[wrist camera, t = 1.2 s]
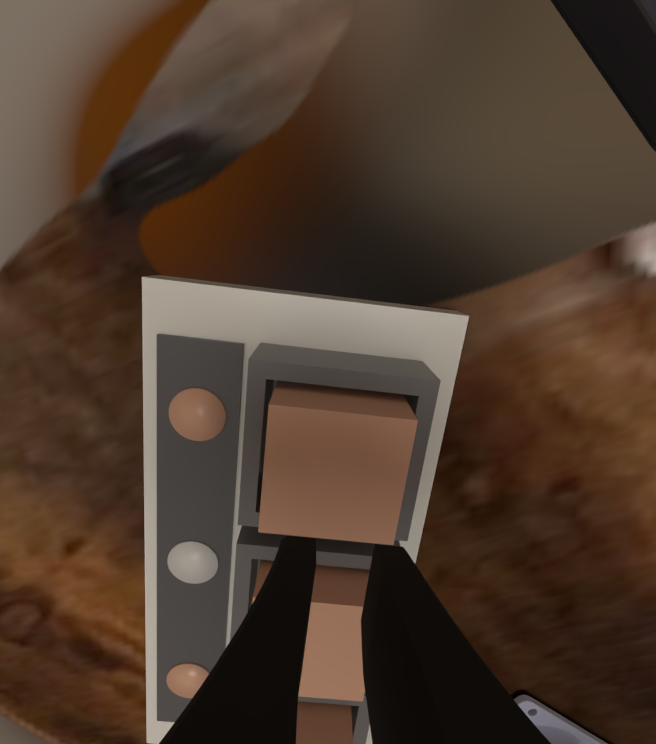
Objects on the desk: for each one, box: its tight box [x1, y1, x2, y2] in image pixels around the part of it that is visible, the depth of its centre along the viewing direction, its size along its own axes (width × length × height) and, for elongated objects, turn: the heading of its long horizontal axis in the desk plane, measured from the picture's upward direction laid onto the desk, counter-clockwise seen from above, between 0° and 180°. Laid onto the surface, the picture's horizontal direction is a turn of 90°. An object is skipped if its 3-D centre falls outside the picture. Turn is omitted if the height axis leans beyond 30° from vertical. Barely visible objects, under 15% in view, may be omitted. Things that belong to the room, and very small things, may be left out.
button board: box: [142, 275, 469, 744], centre depth 17 cm, size 24×12×4 cm, turn 173°
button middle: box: [252, 560, 370, 701], centre depth 15 cm, size 4×4×2 cm
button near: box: [258, 380, 418, 545], centre depth 13 cm, size 4×4×2 cm
